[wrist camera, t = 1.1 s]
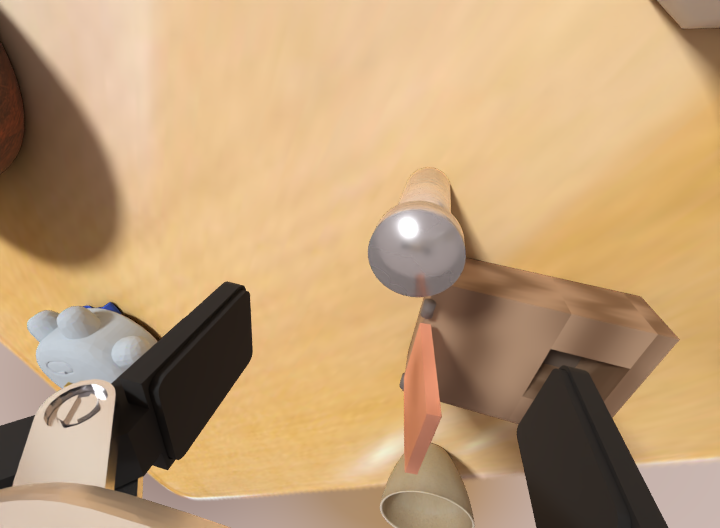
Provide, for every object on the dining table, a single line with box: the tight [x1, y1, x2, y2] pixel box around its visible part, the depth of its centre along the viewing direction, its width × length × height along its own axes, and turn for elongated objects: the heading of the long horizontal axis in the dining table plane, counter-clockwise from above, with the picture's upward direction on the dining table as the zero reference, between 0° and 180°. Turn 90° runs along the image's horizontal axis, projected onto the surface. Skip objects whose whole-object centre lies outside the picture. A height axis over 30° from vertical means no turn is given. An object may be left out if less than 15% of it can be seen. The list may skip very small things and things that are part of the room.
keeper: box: [404, 323, 442, 475], centre depth 22 cm, size 8×6×1 cm
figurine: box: [27, 302, 157, 389], centre depth 42 cm, size 17×8×20 cm
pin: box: [368, 167, 466, 297], centre depth 20 cm, size 5×5×12 cm
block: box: [400, 258, 680, 424], centre depth 27 cm, size 16×12×6 cm
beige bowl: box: [380, 443, 475, 528], centre depth 38 cm, size 10×10×7 cm
